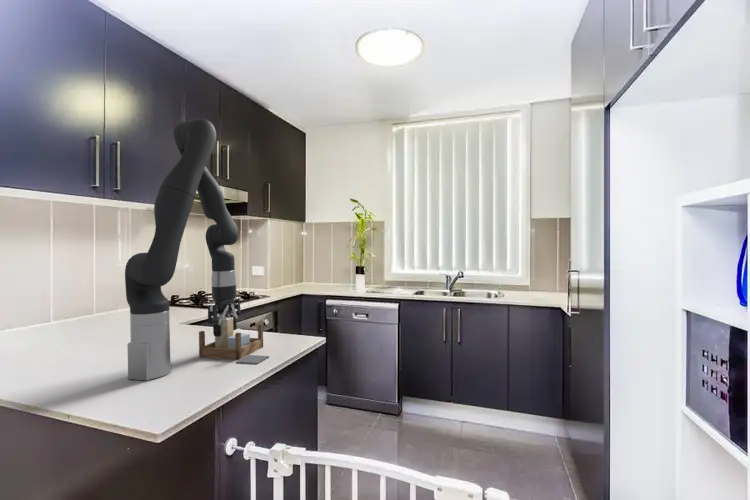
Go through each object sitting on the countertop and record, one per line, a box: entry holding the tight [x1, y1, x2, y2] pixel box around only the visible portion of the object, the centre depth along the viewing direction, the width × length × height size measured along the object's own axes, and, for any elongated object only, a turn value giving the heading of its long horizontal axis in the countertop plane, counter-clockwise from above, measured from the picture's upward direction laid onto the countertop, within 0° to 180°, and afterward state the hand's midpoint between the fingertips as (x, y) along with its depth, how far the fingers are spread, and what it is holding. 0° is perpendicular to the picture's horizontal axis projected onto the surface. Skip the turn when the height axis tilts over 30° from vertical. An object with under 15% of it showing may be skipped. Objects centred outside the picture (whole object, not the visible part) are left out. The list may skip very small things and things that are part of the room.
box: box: [214, 316, 234, 348], centre depth 125 cm, size 5×4×11 cm
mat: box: [235, 354, 270, 365], centre depth 115 cm, size 7×7×1 cm
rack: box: [198, 323, 264, 361], centre depth 124 cm, size 14×14×8 cm
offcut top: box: [228, 333, 251, 348], centre depth 122 cm, size 6×4×3 cm, turn 164°
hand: (225, 333), depth 125 cm, fingers open, 8 cm apart
